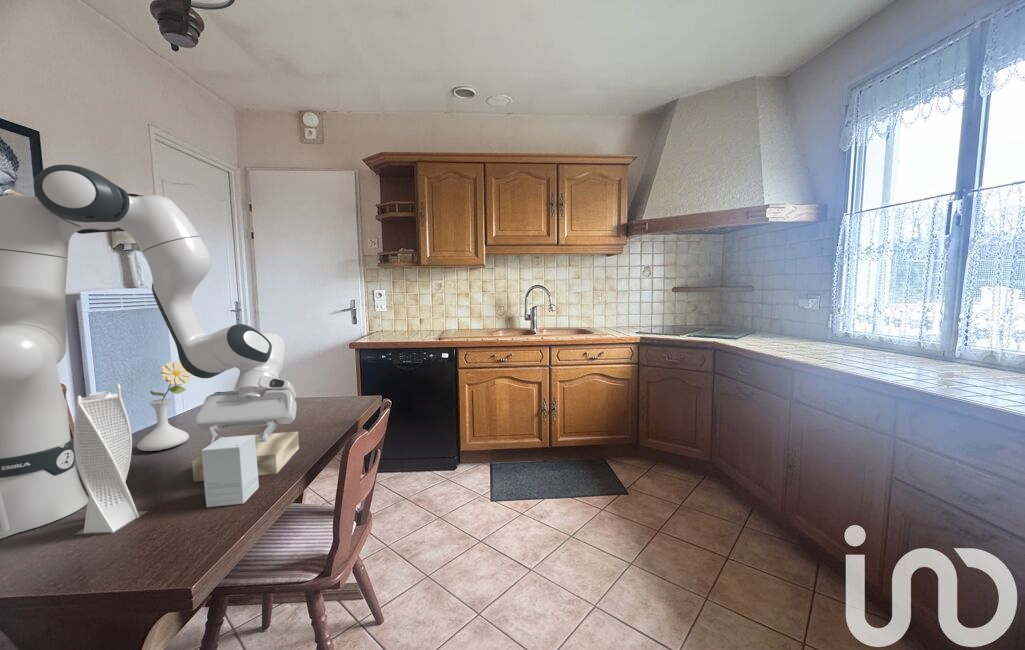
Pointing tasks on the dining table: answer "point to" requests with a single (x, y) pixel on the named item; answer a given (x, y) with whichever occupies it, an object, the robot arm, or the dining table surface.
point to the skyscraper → (104, 461)
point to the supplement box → (230, 470)
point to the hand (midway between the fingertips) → (239, 442)
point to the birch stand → (264, 454)
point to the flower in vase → (164, 432)
